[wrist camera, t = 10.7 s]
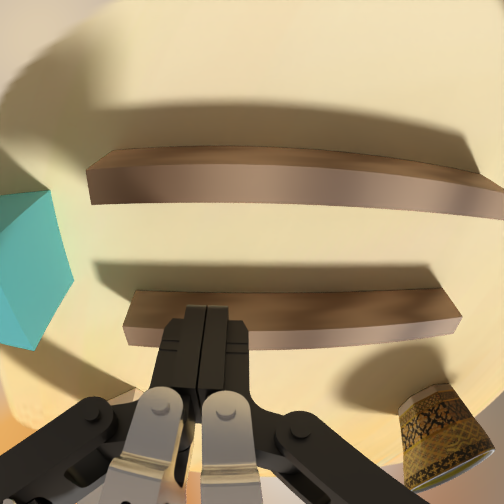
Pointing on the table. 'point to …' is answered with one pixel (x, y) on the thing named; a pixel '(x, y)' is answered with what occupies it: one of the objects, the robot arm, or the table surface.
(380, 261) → the table surface
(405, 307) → the chute
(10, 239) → the block
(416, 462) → the ceramic cup
